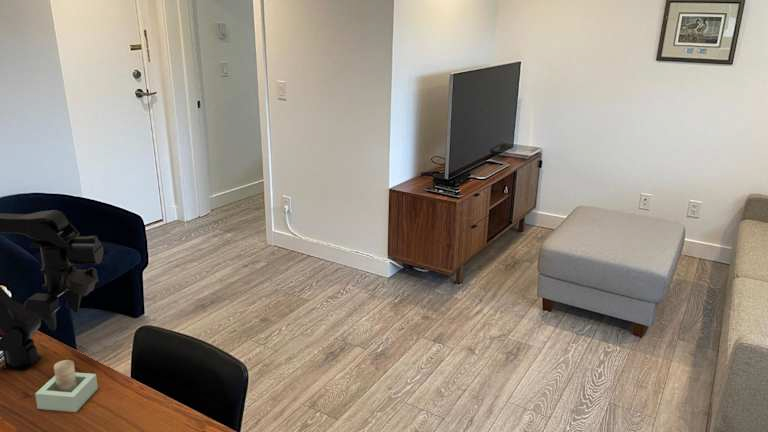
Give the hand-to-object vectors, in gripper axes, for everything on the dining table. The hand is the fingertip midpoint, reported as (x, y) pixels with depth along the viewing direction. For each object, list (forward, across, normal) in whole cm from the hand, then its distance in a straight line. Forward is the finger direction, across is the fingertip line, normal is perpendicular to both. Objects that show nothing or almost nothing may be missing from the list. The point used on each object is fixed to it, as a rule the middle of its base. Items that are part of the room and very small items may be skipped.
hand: (65, 320), depth 145 cm
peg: (+12, -14, -8) cm, 20 cm away
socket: (+12, -14, -8) cm, 20 cm away
